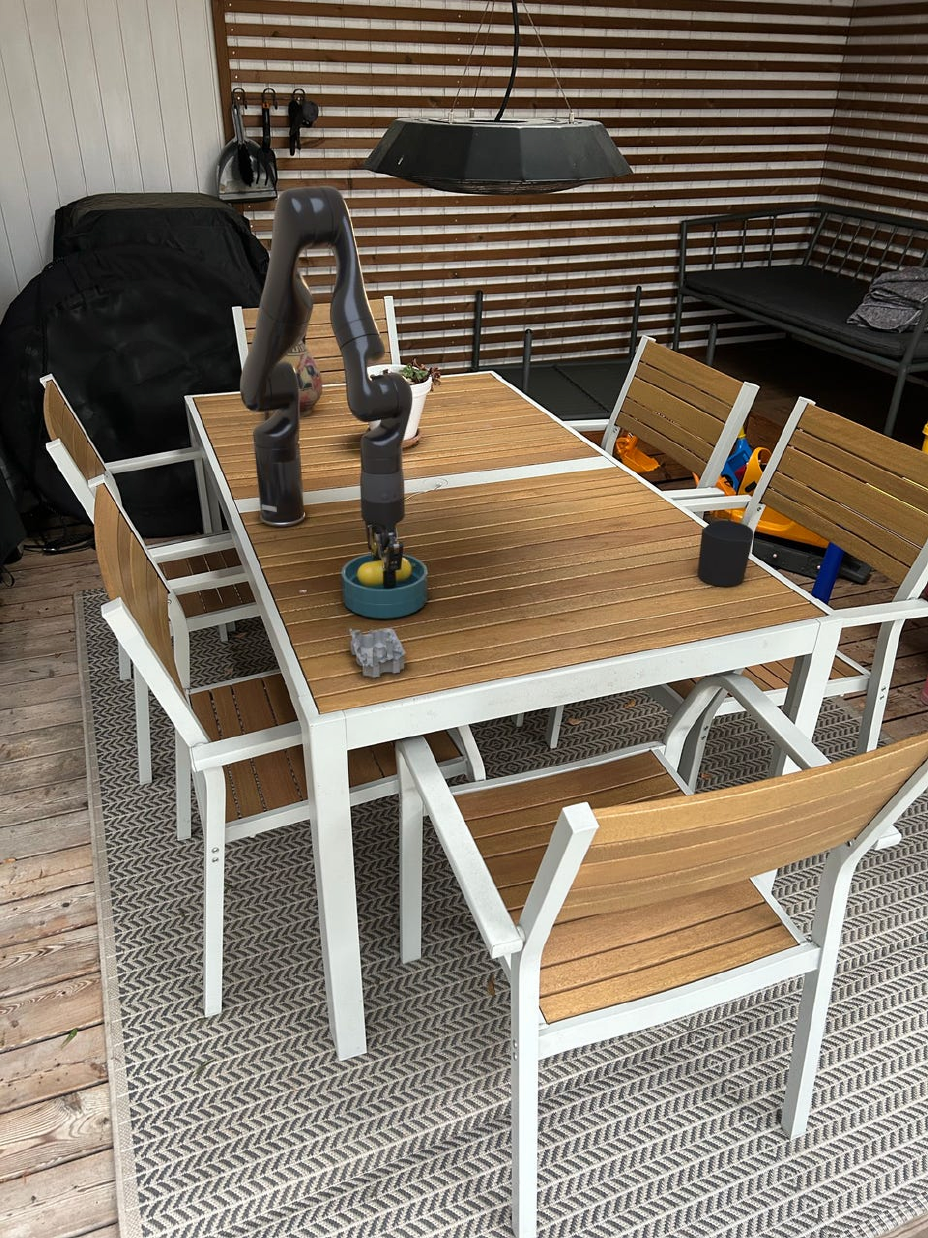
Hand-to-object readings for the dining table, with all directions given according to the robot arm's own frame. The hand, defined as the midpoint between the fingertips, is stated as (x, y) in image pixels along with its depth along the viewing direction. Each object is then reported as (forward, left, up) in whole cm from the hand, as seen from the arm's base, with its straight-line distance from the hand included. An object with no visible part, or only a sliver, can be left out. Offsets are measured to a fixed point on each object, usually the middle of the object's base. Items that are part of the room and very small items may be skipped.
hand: (384, 581), depth 170 cm
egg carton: (+19, -8, -4) cm, 21 cm away
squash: (0, 0, 0) cm, 0 cm away
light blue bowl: (0, 0, -4) cm, 4 cm away
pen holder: (+15, +63, -4) cm, 65 cm away
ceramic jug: (-116, +15, -4) cm, 117 cm away
